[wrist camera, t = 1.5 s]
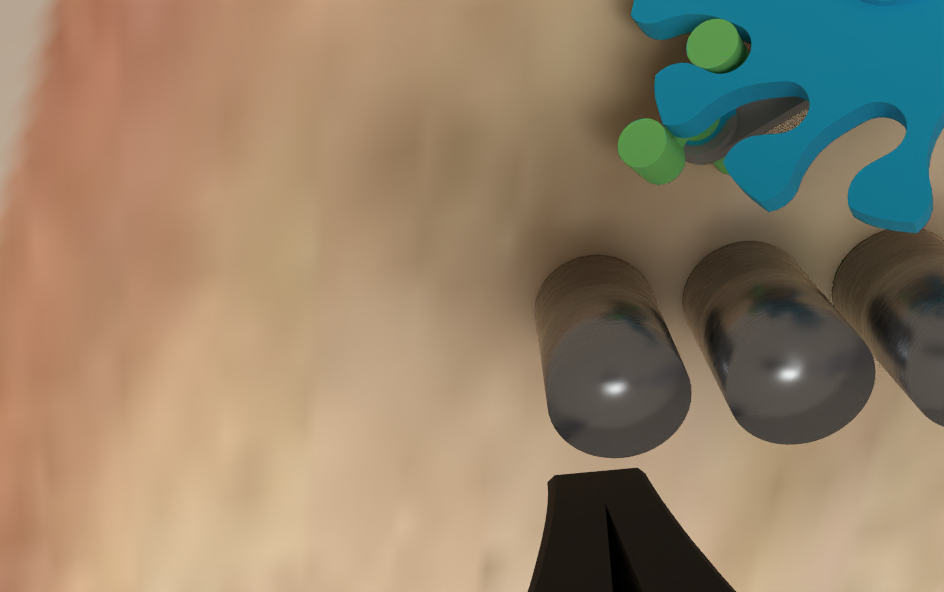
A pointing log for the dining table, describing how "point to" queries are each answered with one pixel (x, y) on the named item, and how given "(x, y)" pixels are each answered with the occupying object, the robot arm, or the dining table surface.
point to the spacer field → (742, 342)
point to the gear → (796, 96)
